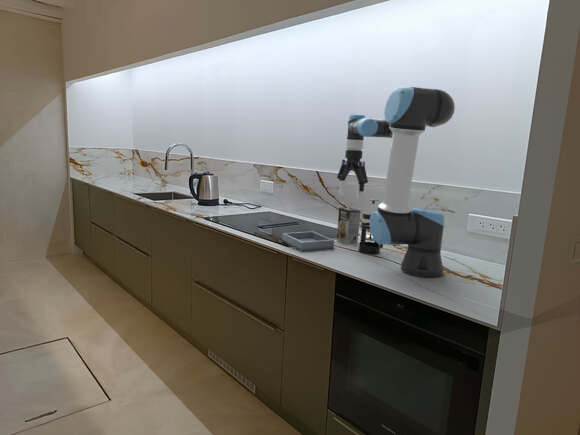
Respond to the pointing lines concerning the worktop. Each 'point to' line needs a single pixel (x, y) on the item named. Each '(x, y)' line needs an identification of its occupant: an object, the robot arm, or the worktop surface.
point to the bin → (308, 241)
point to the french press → (368, 236)
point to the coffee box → (348, 226)
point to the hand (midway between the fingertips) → (350, 196)
